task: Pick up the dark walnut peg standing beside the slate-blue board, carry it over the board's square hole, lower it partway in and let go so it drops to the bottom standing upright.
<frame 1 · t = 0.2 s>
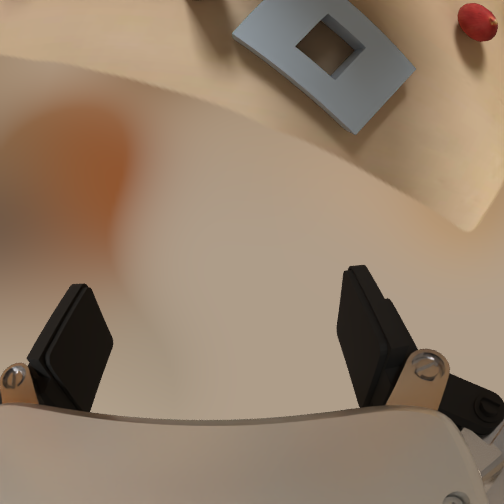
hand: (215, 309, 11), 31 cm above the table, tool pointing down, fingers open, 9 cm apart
onion: (461, 23, 28), on the table
hole board: (323, 49, 32), on the table
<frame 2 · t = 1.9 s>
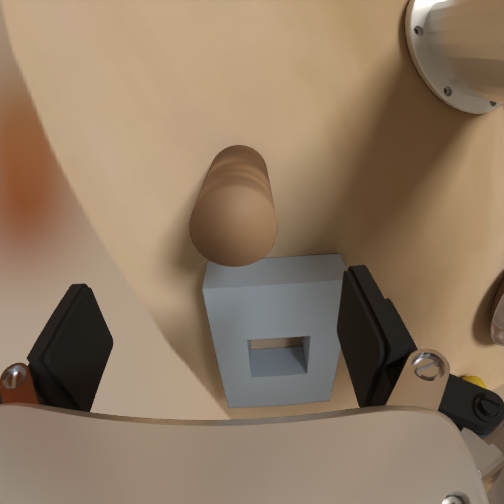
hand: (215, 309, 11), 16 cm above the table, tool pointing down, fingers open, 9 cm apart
hole board: (276, 329, 33), on the table
walnut peg: (238, 172, 24), on the table
lemon: (462, 376, 41), on the table
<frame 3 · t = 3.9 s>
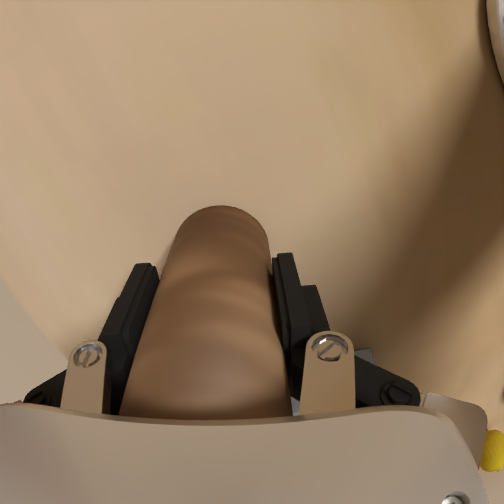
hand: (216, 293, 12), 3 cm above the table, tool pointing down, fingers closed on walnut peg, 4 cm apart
hole board: (278, 426, 23), on the table
walnut peg: (221, 249, 15), on the table, touching gripper
lemon: (482, 429, 32), on the table
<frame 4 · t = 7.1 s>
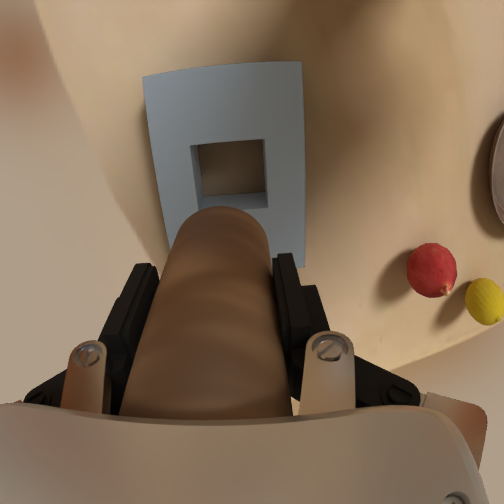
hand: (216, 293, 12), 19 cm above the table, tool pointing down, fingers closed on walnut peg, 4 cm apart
onion: (416, 251, 34), on the table
hole board: (231, 164, 28), on the table
walnut peg: (221, 249, 15), point 16 cm above the table, touching gripper
lemon: (470, 283, 37), on the table
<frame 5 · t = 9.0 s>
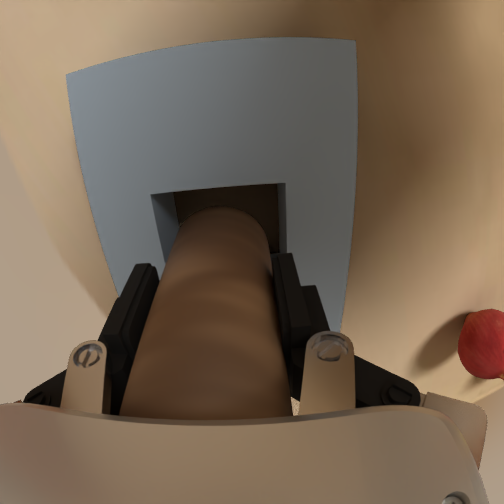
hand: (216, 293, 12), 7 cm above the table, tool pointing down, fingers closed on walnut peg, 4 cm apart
onion: (468, 314, 24), on the table
hole board: (227, 212, 18), on the table
walnut peg: (221, 250, 15), point 4 cm above the table, touching gripper
when the fingers open (5 cm above the table, at t = 10.5 s): walnut peg drops 2 cm, resting in hole board.
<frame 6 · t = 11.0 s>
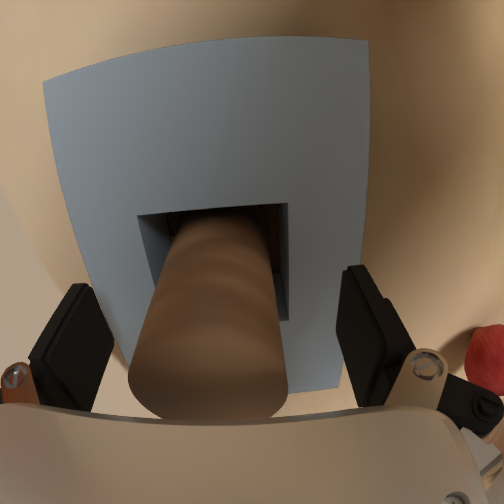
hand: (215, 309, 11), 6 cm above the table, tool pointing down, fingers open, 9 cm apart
onion: (475, 329, 22), on the table
hole board: (223, 230, 17), on the table
walnut peg: (222, 230, 17), resting in hole board
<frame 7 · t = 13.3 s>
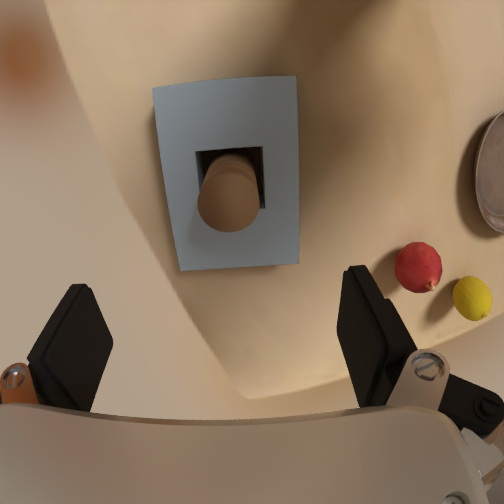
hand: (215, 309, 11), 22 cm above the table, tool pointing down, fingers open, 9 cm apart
onion: (404, 250, 37), on the table
hole board: (232, 168, 31), on the table
walnut peg: (231, 168, 31), resting in hole board
lemon: (457, 281, 40), on the table
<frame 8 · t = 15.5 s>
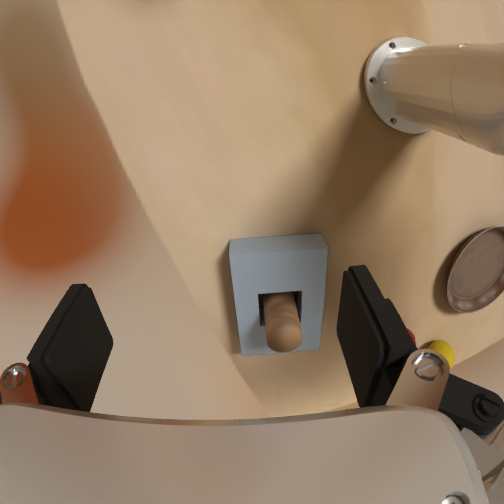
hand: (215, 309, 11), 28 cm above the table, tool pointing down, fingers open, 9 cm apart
plant saucer: (477, 263, 46), on the table
hole board: (277, 291, 46), on the table
walnut peg: (277, 291, 46), resting in hole board
lemon: (432, 341, 55), on the table
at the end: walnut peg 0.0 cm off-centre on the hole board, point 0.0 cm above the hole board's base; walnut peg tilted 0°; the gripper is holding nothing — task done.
